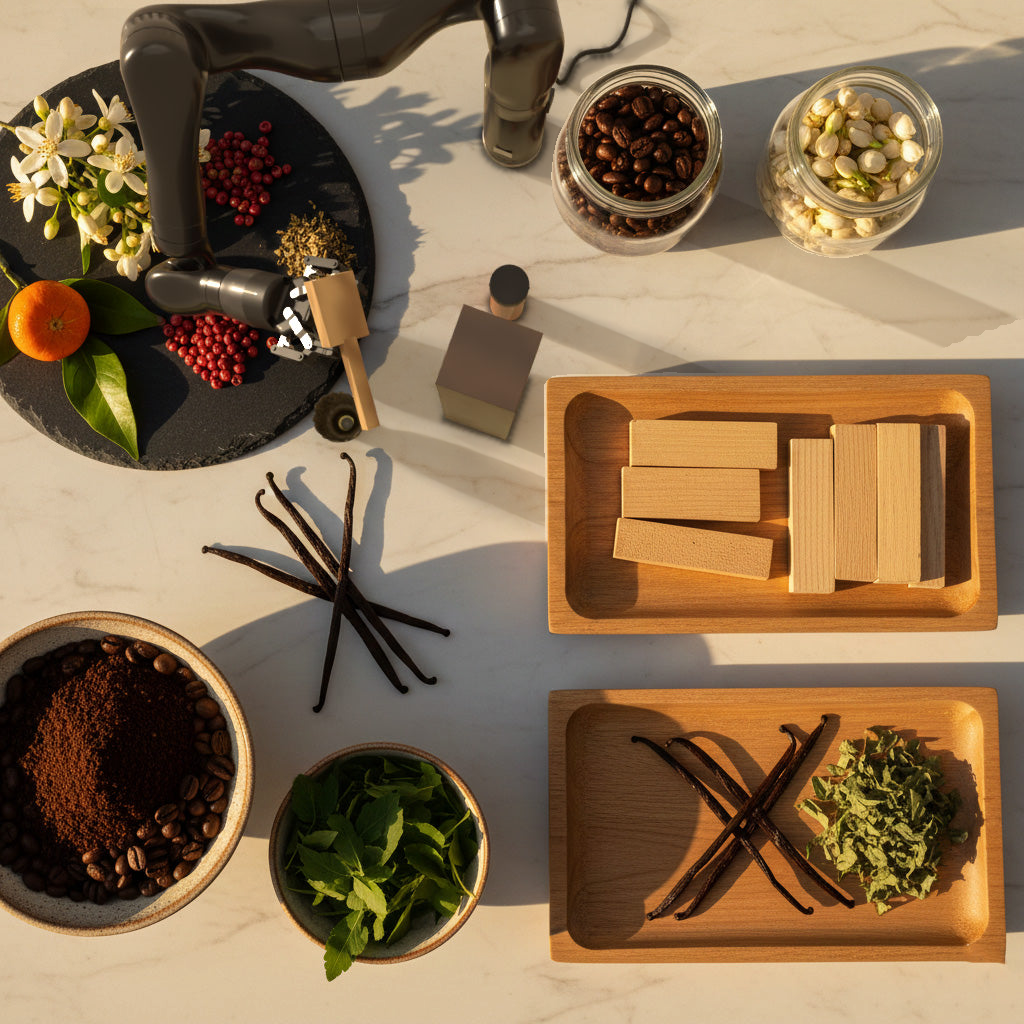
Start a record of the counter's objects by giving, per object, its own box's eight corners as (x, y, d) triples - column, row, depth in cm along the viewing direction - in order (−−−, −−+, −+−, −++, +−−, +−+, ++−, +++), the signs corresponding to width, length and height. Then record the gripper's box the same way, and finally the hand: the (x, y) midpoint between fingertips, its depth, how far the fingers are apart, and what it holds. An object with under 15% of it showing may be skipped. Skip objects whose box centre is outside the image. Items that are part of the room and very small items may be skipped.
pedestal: (467, 358, 125) (463, 303, 94) (527, 380, 125) (543, 333, 94) (445, 418, 124) (434, 383, 94) (505, 440, 125) (515, 412, 94)
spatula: (392, 420, 106) (383, 419, 107) (353, 270, 98) (344, 271, 100) (355, 436, 102) (347, 435, 104) (312, 281, 95) (303, 282, 96)
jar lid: (497, 262, 116) (497, 258, 114) (534, 276, 116) (535, 272, 114) (483, 299, 116) (483, 295, 114) (521, 312, 116) (521, 309, 114)
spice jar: (496, 283, 125) (498, 262, 115) (528, 295, 125) (532, 274, 115) (485, 314, 125) (486, 295, 115) (516, 326, 125) (520, 308, 115)
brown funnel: (365, 452, 124) (357, 447, 116) (318, 442, 124) (307, 436, 116) (375, 405, 124) (368, 396, 116) (328, 395, 124) (318, 386, 116)
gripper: (223, 338, 105) (313, 363, 97) (261, 237, 105) (353, 254, 98) (263, 358, 111) (350, 383, 104) (299, 263, 112) (388, 281, 104)
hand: (352, 320), depth 101 cm, fingers closed on spatula, 7 cm apart
